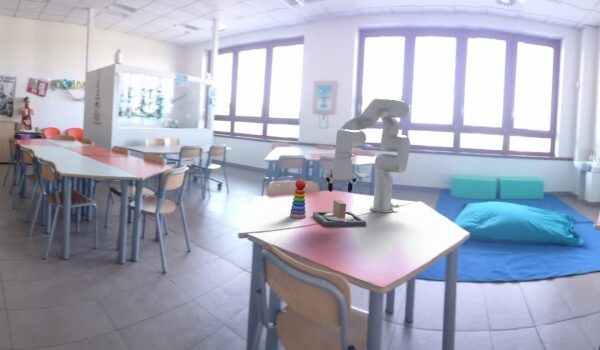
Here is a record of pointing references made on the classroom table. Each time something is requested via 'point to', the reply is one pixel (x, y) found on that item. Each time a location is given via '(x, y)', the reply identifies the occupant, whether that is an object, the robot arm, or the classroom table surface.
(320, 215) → the dial housing
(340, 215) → the dial
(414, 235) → the classroom table surface
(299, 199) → the stacking toy
